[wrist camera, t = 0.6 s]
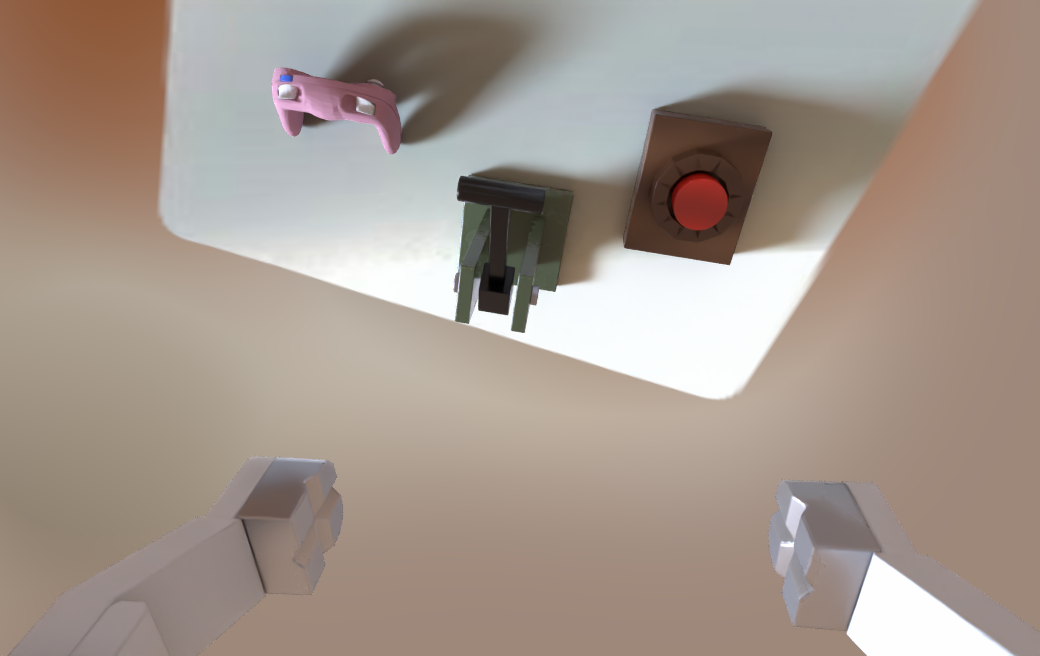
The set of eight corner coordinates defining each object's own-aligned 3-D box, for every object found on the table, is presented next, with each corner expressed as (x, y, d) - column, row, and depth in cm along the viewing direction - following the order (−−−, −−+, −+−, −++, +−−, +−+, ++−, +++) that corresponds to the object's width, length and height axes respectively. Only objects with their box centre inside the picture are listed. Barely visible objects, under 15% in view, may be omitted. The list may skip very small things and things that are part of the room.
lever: (462, 164, 36) (454, 195, 35) (548, 177, 36) (542, 209, 35) (465, 280, 47) (459, 307, 46) (531, 291, 47) (527, 318, 45)
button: (678, 169, 48) (681, 174, 46) (730, 177, 48) (734, 183, 46) (665, 218, 50) (667, 226, 48) (715, 226, 50) (719, 234, 48)
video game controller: (411, 104, 52) (393, 73, 46) (402, 158, 53) (382, 135, 46) (296, 83, 53) (260, 49, 46) (287, 137, 53) (250, 111, 46)
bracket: (468, 174, 53) (433, 227, 41) (573, 191, 53) (568, 249, 41) (459, 270, 58) (425, 344, 45) (555, 286, 57) (547, 365, 45)
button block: (652, 109, 49) (657, 117, 46) (765, 126, 49) (779, 137, 46) (622, 239, 55) (625, 256, 51) (725, 255, 55) (734, 274, 51)
